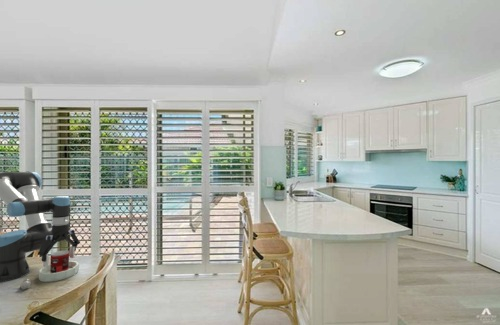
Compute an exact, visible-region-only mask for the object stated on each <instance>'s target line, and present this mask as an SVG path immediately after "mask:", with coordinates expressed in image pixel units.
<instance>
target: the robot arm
mask: <svg viewBox="0 0 500 325" xmlns="http://www.w3.org/2000/svg"><path fill="white" fill-rule="evenodd" d="M41 187H42V178H41V176H40V174H39V173H38V172H36V171H3V172H0V199H1V200H2V201H3V202H4V203H5V205H7V206H6V213H7V215H8V216H9V218H10V217H11V218H12V217H15V218H16V217H22V216H25V220H26V222H27V226H28V228H27V229H18V230H13V231H9V232H5V233H3V234H0V282H7V281H12V280H16V279H19V278H21V277H24V276H26V275H27V274H29V273H30V265H29V263H28V261H27V258H26V255H27V253H31V252H35V251H38V252H37V256H41V262H43V265H42V268H43V267H46V268H47V267H48V265H49V260H50V257H49V252H50V251H51V250H52V249H53V247H54V246H55V245H56V244H57V243H58V242H59V243H60V242H62V241H65V242H67V243H68V244H70V246H69V259H74V258H75V255H76V254H75V252H77V247H78V245H79V244H80V240H79V239H78V237H77V235H76V233H75V232H76V230H75V229H70V213H71V212H70V209H71V197H70V196H68V195H59V196H58V195H57V196H54V197H47V198H43V199H42V198H41V199H40V197H39V193H38V191H39V189H40V188H41ZM46 213H52V216H51V217H52V219H51V221H52V222H49V221H48V220H47V218H46V215H45V214H46Z"/></svg>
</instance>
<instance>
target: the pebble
mask: <svg viewBox="0 0 500 325" xmlns="http://www.w3.org/2000/svg"><path fill="white" fill-rule="evenodd" d="M31 285H32V281H31V282H30V281H25V282H23V281H22V283H21V284H20V288H21V289H22V290H28V289H29V288H30V287H31Z"/></svg>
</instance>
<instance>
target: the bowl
mask: <svg viewBox="0 0 500 325" xmlns="http://www.w3.org/2000/svg"><path fill="white" fill-rule="evenodd" d="M79 268H80V265H79V262H78V261H75V260H69V269H68V270H66V271H62V272H57V273H50V264H48V267H47V268H46V267H43V266H42V268H40V269H39V270H38V280H39V281H40V282H44V283H49V282H57V281H61V280H65V279H68V278H71V277H73V276H75V275H76V274H77V273H78V272H79V270H80V269H79Z"/></svg>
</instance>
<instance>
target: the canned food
mask: <svg viewBox="0 0 500 325" xmlns="http://www.w3.org/2000/svg"><path fill="white" fill-rule="evenodd" d="M69 261H70V250H65V249H64V250H56V251H54V252H52V253H51V254H50V264H49V265H50V273H57V272H62V271H66V270H68V269H69Z"/></svg>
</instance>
